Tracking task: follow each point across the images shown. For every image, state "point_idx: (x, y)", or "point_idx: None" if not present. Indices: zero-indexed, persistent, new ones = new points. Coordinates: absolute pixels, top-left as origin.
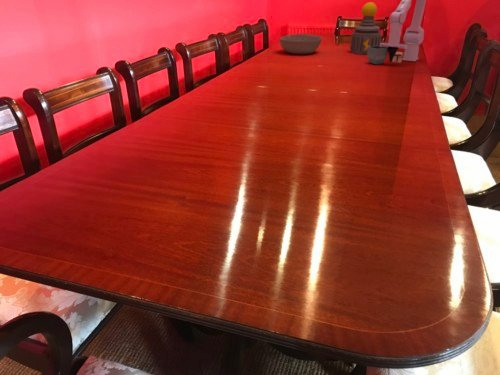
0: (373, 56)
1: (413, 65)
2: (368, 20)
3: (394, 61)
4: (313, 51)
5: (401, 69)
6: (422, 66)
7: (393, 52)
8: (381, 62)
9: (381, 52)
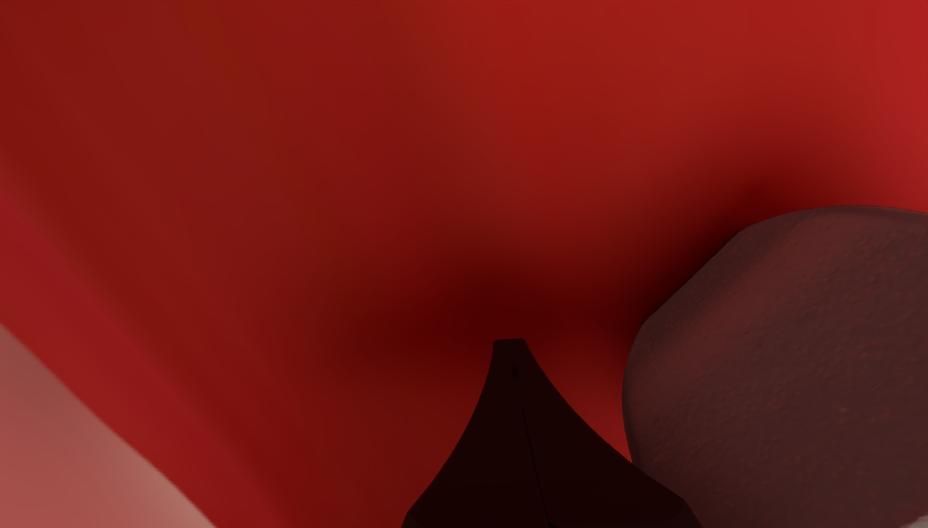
0: None
1: (243, 437)
2: None
3: None
4: None
5: (176, 69)
6: (129, 438)
7: (469, 464)
8: (656, 318)
9: (817, 396)
